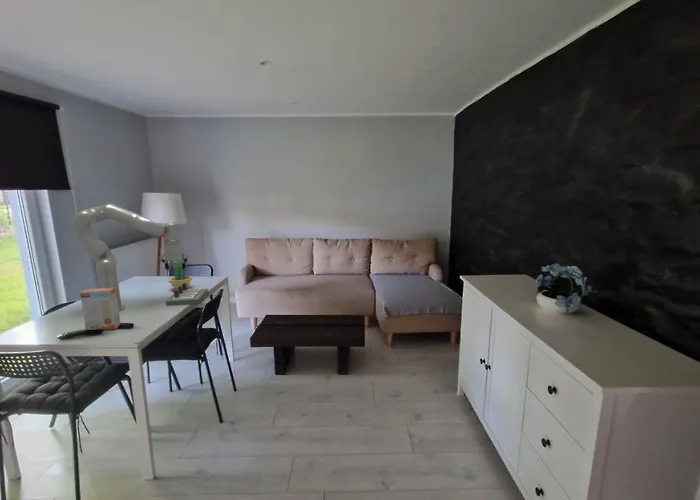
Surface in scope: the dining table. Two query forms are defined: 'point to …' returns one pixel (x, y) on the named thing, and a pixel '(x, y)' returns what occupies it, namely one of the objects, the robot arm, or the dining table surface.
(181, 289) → the breaker handle
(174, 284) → the potted cactus
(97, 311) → the cracker box
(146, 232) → the robot arm
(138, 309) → the dining table surface
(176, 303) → the breaker panel
